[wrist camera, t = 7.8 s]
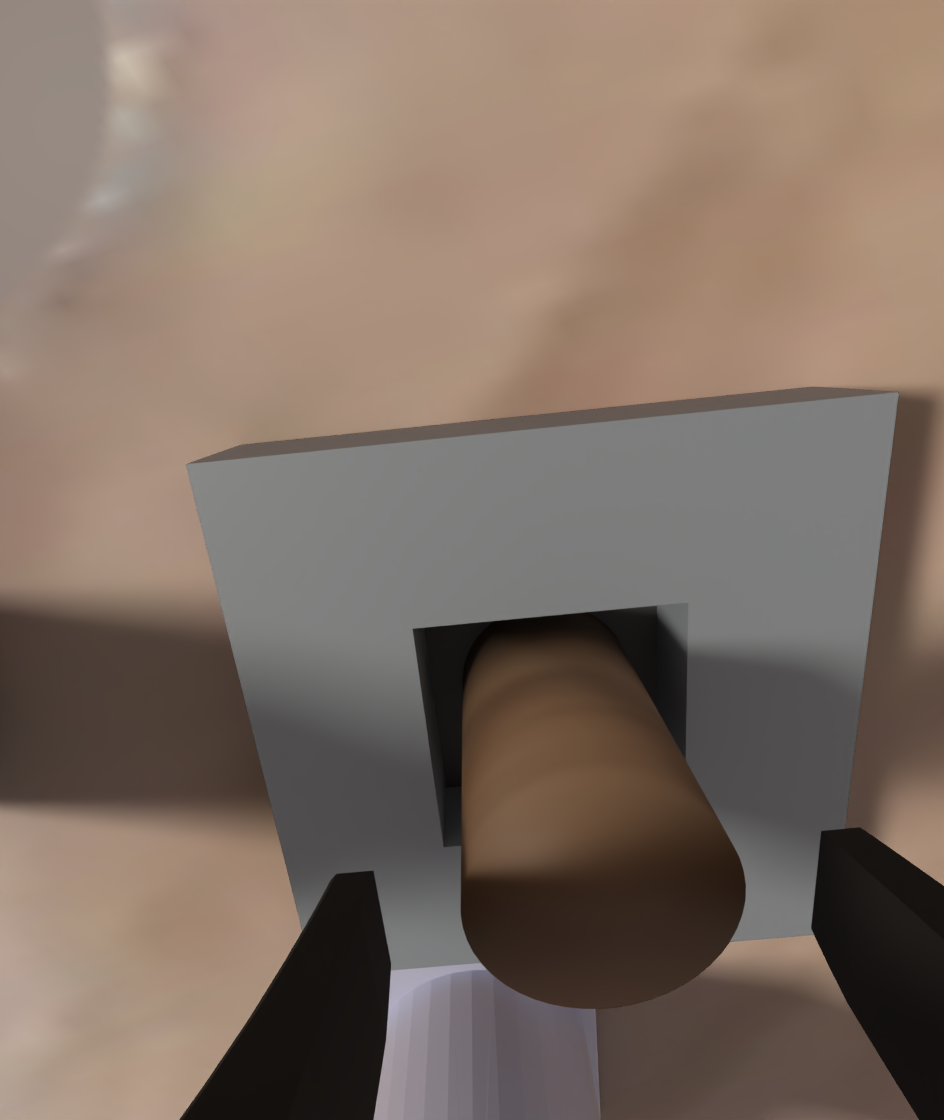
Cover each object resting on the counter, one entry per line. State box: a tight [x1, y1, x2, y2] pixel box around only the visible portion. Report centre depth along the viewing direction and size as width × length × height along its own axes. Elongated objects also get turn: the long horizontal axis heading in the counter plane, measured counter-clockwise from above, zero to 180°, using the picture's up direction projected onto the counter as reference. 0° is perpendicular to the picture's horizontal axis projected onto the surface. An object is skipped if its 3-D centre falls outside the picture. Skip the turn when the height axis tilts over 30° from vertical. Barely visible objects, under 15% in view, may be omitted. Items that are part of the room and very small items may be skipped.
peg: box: [461, 612, 746, 1009], centre depth 12 cm, size 4×4×7 cm
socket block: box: [186, 387, 899, 970], centre depth 15 cm, size 14×14×3 cm
